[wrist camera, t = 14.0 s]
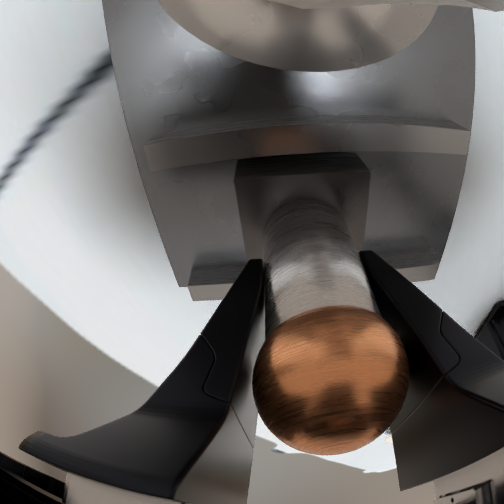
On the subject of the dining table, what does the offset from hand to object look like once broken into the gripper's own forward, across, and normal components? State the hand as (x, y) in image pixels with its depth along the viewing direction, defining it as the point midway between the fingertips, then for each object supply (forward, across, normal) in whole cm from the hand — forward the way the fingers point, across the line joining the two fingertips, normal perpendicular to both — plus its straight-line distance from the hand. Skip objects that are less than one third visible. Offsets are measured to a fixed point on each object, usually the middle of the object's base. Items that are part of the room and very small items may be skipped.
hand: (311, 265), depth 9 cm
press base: (+5, -1, -6) cm, 8 cm away
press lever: (+3, 0, 0) cm, 3 cm away
